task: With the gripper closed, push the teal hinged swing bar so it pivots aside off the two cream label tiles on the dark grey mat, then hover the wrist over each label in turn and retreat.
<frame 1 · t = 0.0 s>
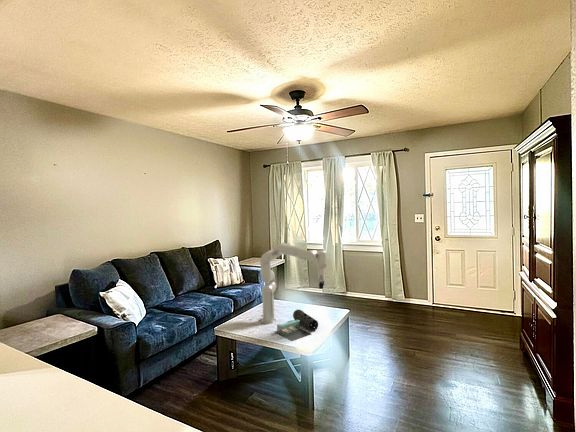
hand: (321, 286, 256), 31 cm above the table, tool pointing down, fingers open, 9 cm apart
dark grey mat: (292, 334, 237), on the table
swing arm: (288, 325, 244), point 4 cm above the table, hinge at 90.0°
muzzle brake: (304, 326, 253), on the table
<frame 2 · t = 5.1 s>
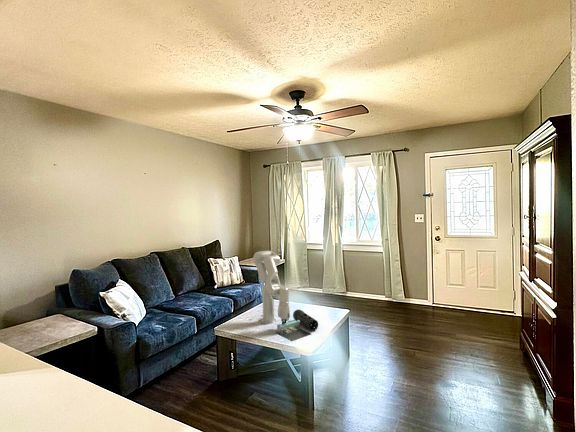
hand: (284, 326, 246), 3 cm above the table, tool pointing down, fingers closed
swing arm: (288, 325, 243), point 4 cm above the table, hinge at 88.1°, touching gripper
everything else where it was.
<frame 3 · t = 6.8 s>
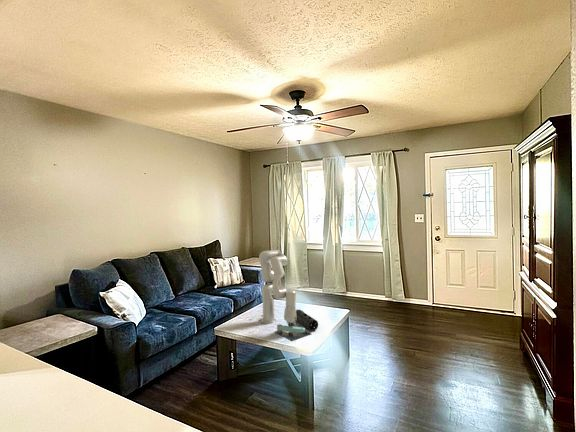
hand: (290, 330, 240), 2 cm above the table, tool pointing down, fingers closed
swing arm: (290, 329, 235), point 4 cm above the table, hinge at 34.5°
everything else where it was.
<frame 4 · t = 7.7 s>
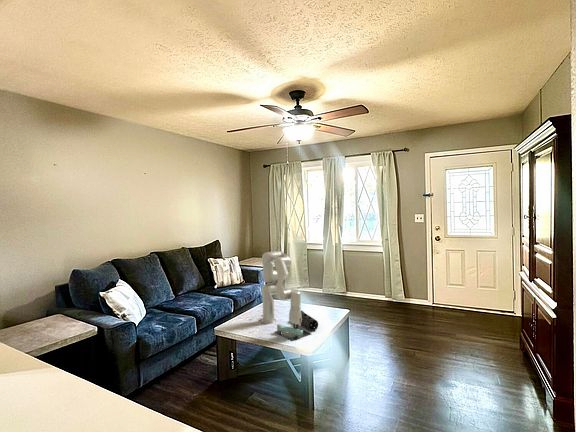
hand: (295, 331, 235), 3 cm above the table, tool pointing down, fingers closed
swing arm: (289, 330, 233), point 4 cm above the table, hinge at 20.0°, touching gripper
everything else where it was.
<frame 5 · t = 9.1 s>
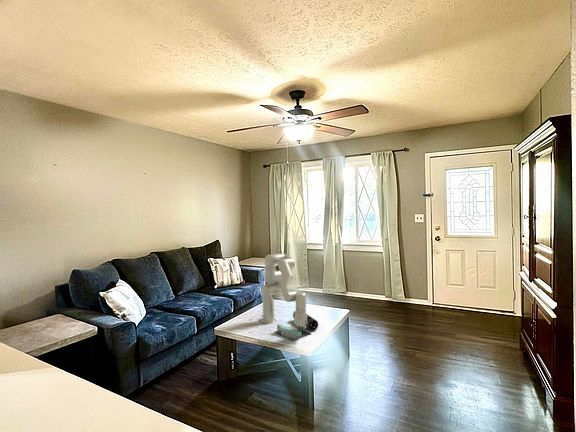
hand: (300, 334, 230), 3 cm above the table, tool pointing down, fingers closed
swing arm: (289, 331, 233), point 4 cm above the table, hinge at 13.8°, touching gripper
everything else where it was.
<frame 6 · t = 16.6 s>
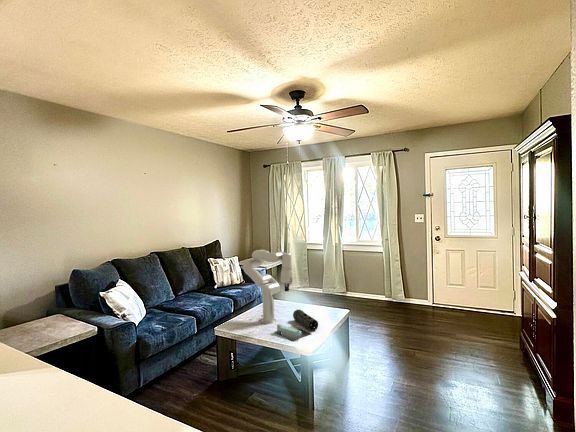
hand: (286, 291, 251), 29 cm above the table, tool pointing down, fingers closed
swing arm: (288, 331, 233), point 4 cm above the table, hinge at 13.4°
everything else where it was.
at the end: swing arm at +13° (first picture: +90°) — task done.
